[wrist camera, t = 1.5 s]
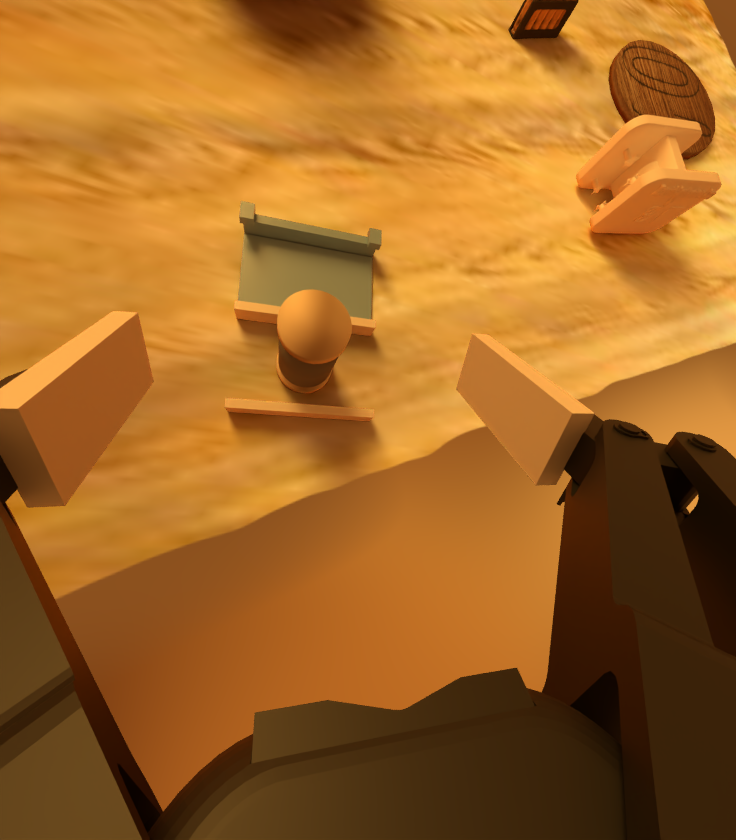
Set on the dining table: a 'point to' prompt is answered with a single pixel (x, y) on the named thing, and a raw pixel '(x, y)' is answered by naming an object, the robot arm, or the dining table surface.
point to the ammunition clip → (541, 18)
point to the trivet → (660, 89)
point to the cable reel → (310, 339)
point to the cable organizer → (646, 176)
